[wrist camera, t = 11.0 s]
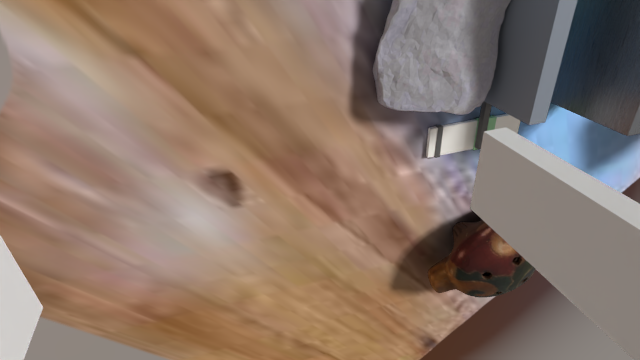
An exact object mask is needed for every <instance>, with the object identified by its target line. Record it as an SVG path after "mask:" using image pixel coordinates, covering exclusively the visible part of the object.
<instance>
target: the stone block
mask: <svg viewBox="0 0 640 360" xmlns="http://www.w3.org/2000/svg"><path fill="white" fill-rule="evenodd" d="M510 1H511V0H393V2H392V5H391V9H390V12H389V14H388V16H387V20H386V25H385V29H384V33H383V35H382V37H381V39H380V42H379V46H378V49H377V53H376V60H375V62H374V64H373V69H372V70H373V75H374V79H375V84H376V94H377V99H378V102H379V103H380V104H381V105H383V106H384V107H387V108H391V109H393V110H398V111H416V112H441V111H442V112H446V113H453V114H457V115H463V114H469V113H470V112H472V111H473V110H474V109H475V108H476V107H479V106H481V104H482V103H483V102H484V101H485V98H486V96H487V93H488V91H489V90H490V89H491V85H492V81H493V77H494V71H495V68H496V61H497V54H498V38H499V31H500V27H501V24H502V22H503V19H504V15H505V10H506V8H507V6H508V4H509V3H510Z"/></svg>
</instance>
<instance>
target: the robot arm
mask: <svg viewBox="0 0 640 360" xmlns="http://www.w3.org/2000/svg"><path fill="white" fill-rule="evenodd" d="M470 209H471V210H472V211H473V212H475V213H476V214H477V215H478V216H479V217H480V218H481V219H482V220H483V221H484V222H485V223H486V224H488V225H489V226H490V227H491V228H492V229H493V230H494V231H495V232H496V233H497V234H498V235H499V236H500V237H502V238H503V239H504V240H505V241H506V242H507V243H508V244H509V245H510V246H511V247H512V248H513V249H515V250H516V251H517V252H518V253H519V254H520V255H521V256H522V257H523V258H524V259H525V260H526V261H528V262H529V263H530V264H531V265H532V266H533V267H534V268H535V269H536V270H537V271H539V272H540V274H542V275H543V276H544V277H545V278H546V279H547V280H548V281H549V282H550V283H551V284H552V285H553V286H555V287H556V288H557V289H558V290H559V291H560V292H561V293H562V294H563V295H564V296H565V297H566V298H568V299H569V300H570V301H571V302H572V303H573V304H574V305H575V306H576V307H577V308H578V309H579V310H580V311H582V312H583V313H584V314H585V315H586V316H587V317H588V318H589V319H590V320H591V321H592V322H593V323H595V324H596V325H597V326H598V327H599V328H600V329H601V330H602V331H603V332H604V333H605V334H606V335H607V336H609V337H610V338H611V339H612V340H613V341H614V342H615V343H616V344H617V345H618V346H619V347H620V348H622V349H623V350H624V351H625V352H626V353H627V354H628V355H629V356H630V357H631V358H632V359H634V360H640V203H637V202H636V201H634V200H632V199H630V198H628V197H627V196H625V195H623V194H622V193H620V192H618V191H616V190H615V189H613V188H611V187H609V186H608V185H606V184H604V183H602V182H601V181H599V180H597V179H595V178H594V177H592V176H590V175H588V174H587V173H585V172H583V171H582V170H580V169H578V168H576V167H575V166H573V165H571V164H569V163H568V162H566V161H564V160H562V159H561V158H559V157H557V156H555V155H554V154H552V153H550V152H548V151H547V150H545V149H543V148H541V147H540V146H538V145H536V144H534V143H533V142H531V141H529V140H527V139H526V138H524V137H522V136H520V135H519V134H517V133H515V132H513V131H512V130H510V129H508V128H500V129H495V130H489V131H484V134H483V139H482V145H481V150H480V156H479V161H478V167H477V172H476V178H475V183H474V189H473V194H472V200H471V205H470ZM42 309H43V306H42V305H41V303H40V301H39V300H38V298H37V296H36V295H35V293H34V291H33V290H32V288H31V286H30V284H29V283H28V281H27V279H26V278H25V276H24V274H23V273H22V271H21V269H20V268H19V266H18V264H17V263H16V261H15V259H14V258H13V256H12V254H11V253H10V251H9V249H8V248H7V246H6V244H5V242H4V241H3V239H2V237H1V236H0V360H23V359H24V357H25V354H26V352H27V349H28V346H29V343H30V341H31V338H32V335H33V333H34V330H35V328H36V325H37V322H38V320H39V317H40V314H41V312H42Z"/></svg>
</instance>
